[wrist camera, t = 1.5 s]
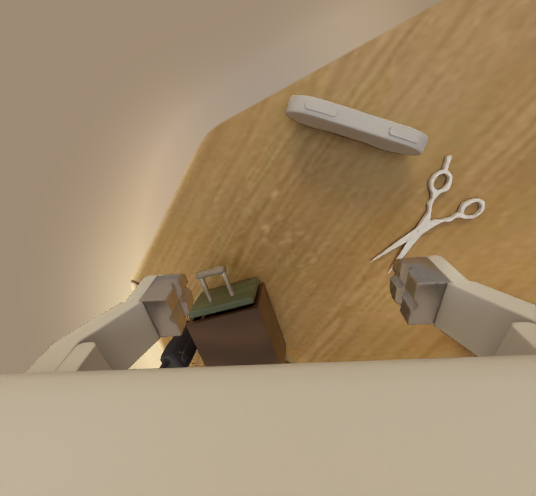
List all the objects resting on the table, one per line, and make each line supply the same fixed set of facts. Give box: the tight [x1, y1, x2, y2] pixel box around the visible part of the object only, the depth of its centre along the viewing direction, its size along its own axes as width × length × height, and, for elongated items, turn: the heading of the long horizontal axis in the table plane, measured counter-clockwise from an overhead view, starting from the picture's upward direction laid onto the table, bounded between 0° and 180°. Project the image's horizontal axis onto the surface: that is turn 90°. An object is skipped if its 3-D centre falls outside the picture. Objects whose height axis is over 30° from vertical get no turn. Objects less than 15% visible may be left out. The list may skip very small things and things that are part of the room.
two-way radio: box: [160, 321, 197, 368], centre depth 44 cm, size 6×4×15 cm
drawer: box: [189, 265, 259, 320], centre depth 44 cm, size 19×11×7 cm, turn 18°
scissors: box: [371, 155, 485, 275], centre depth 41 cm, size 11×1×20 cm
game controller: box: [286, 95, 428, 155], centre depth 34 cm, size 20×2×8 cm, turn 73°
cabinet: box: [186, 283, 286, 367], centre depth 46 cm, size 15×13×9 cm
